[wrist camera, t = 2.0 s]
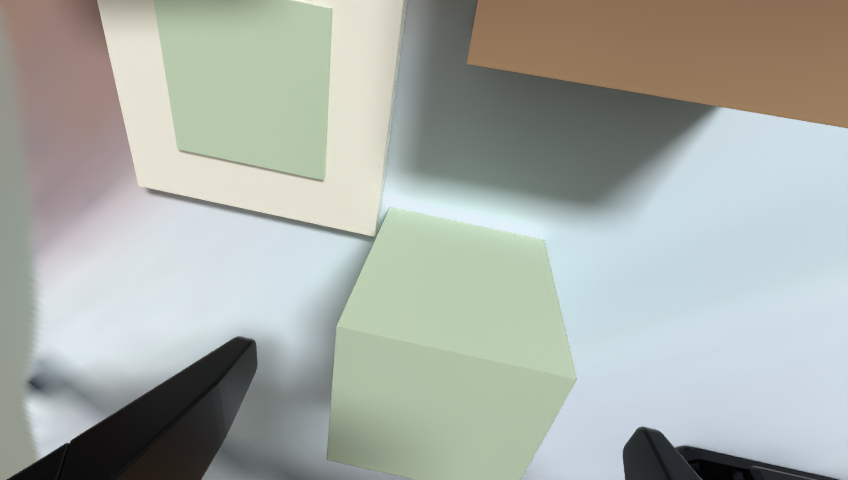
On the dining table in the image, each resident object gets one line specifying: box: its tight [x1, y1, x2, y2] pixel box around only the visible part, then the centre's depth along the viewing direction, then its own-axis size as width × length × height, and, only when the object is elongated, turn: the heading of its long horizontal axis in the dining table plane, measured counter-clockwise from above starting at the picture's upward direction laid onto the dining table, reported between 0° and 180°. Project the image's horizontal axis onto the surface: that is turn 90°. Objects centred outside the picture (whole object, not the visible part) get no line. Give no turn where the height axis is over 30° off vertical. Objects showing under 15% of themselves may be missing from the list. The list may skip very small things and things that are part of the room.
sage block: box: [327, 207, 577, 480], centre depth 11 cm, size 4×4×5 cm
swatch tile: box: [97, 0, 407, 237], centre depth 10 cm, size 7×7×1 cm
